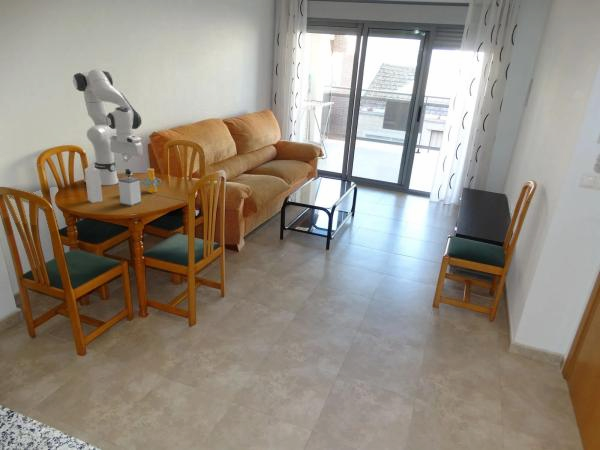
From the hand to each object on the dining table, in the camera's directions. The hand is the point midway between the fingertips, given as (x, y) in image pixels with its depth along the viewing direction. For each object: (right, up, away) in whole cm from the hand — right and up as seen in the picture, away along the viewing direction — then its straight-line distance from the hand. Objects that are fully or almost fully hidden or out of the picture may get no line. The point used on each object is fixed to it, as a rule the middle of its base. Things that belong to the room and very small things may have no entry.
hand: (127, 161), depth 236 cm
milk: (-23, -22, +9) cm, 33 cm away
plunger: (-2, -22, +9) cm, 24 cm away
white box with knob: (-1, -23, +11) cm, 25 cm away
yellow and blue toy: (+2, -15, +33) cm, 36 cm away
